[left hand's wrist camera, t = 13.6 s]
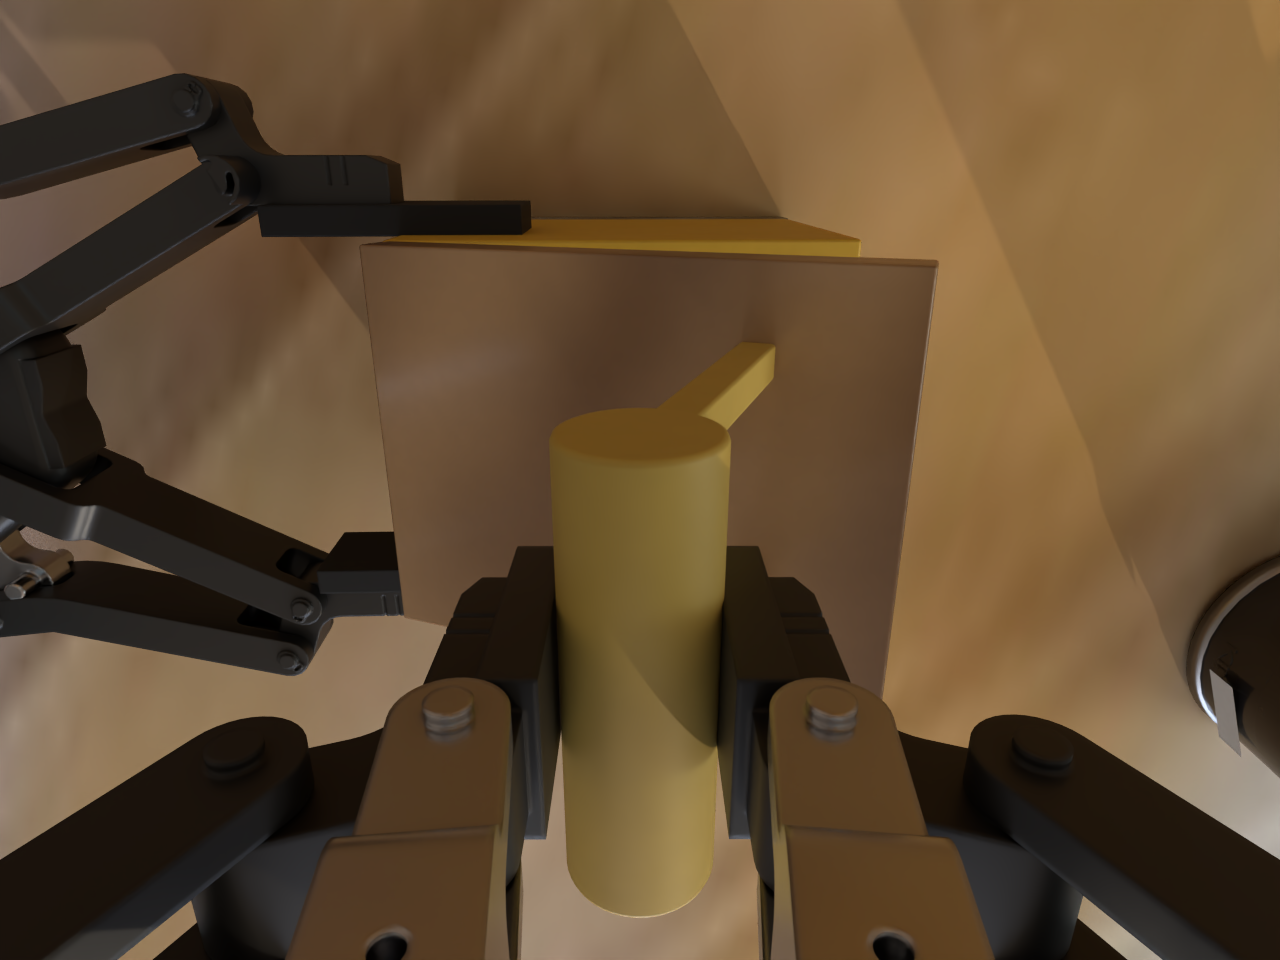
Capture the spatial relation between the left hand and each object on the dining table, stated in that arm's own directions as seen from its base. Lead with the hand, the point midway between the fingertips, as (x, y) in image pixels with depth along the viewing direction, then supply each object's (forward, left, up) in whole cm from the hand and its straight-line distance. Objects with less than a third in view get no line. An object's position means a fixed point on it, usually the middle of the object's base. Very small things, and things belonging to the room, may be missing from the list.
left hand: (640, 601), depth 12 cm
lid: (0, 0, -6) cm, 6 cm away
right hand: (+3, -1, -12) cm, 12 cm away
